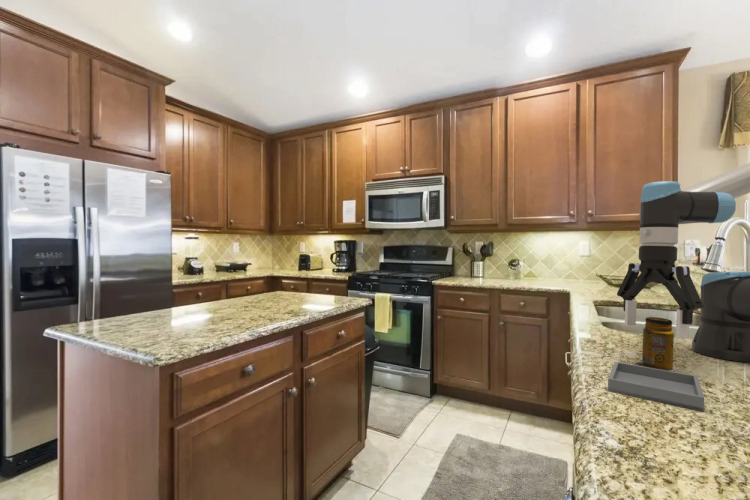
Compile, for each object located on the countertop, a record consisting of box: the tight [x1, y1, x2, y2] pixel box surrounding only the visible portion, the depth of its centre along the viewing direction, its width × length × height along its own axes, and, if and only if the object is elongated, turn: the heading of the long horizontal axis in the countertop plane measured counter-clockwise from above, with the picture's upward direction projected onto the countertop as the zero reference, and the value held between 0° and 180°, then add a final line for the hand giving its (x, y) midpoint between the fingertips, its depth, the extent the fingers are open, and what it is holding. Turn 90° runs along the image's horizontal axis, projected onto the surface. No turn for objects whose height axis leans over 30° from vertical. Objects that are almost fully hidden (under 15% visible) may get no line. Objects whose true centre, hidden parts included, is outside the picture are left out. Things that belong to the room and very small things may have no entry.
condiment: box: [632, 316, 680, 372], centre depth 90 cm, size 7×8×12 cm
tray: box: [607, 361, 705, 412], centre depth 76 cm, size 15×15×2 cm
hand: (654, 331), depth 90 cm, fingers open, 13 cm apart
